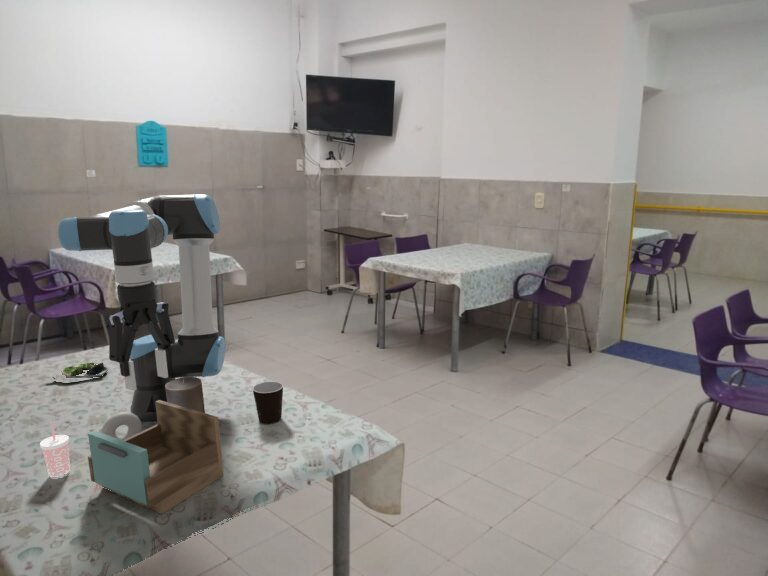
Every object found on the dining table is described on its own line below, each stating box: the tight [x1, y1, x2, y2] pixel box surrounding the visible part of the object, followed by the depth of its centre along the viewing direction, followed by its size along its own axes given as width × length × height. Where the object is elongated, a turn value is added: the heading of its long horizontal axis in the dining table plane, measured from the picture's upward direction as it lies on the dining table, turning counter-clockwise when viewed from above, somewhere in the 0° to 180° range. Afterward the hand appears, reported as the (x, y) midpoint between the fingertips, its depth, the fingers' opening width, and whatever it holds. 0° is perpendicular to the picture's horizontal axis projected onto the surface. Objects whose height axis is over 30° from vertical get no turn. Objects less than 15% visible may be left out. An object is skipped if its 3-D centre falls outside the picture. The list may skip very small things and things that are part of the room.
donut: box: [100, 411, 143, 440], centre depth 149 cm, size 10×4×10 cm, turn 129°
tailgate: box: [87, 430, 150, 505], centre depth 122 cm, size 18×3×12 cm, turn 59°
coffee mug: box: [252, 380, 284, 425], centre depth 165 cm, size 12×9×10 cm
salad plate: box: [61, 362, 108, 378], centre depth 202 cm, size 19×18×5 cm
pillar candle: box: [165, 377, 206, 413], centre depth 159 cm, size 10×10×15 cm
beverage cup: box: [39, 420, 71, 477], centre depth 136 cm, size 6×6×14 cm
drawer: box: [87, 400, 224, 515], centre depth 131 cm, size 21×20×15 cm
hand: (147, 382), depth 127 cm, fingers open, 8 cm apart
